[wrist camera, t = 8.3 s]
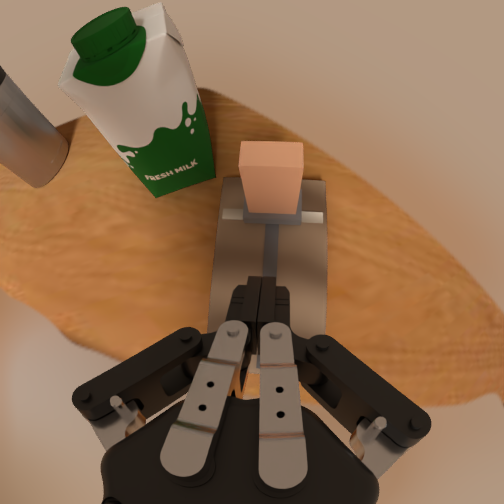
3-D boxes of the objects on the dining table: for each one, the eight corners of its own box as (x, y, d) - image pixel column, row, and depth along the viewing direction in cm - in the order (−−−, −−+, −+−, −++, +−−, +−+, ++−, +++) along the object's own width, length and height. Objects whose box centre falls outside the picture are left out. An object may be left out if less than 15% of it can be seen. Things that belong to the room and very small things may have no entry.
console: (319, 373, 22) (322, 376, 21) (208, 366, 23) (204, 368, 22) (323, 188, 27) (325, 179, 25) (226, 184, 28) (223, 176, 26)
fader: (300, 225, 24) (311, 175, 16) (244, 222, 25) (229, 172, 16) (300, 195, 25) (310, 137, 17) (246, 193, 25) (234, 135, 17)
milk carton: (149, 208, 28) (31, 75, 9) (142, 147, 31) (63, 24, 11) (226, 181, 28) (169, 3, 9) (208, 123, 31) (163, -23, 11)
